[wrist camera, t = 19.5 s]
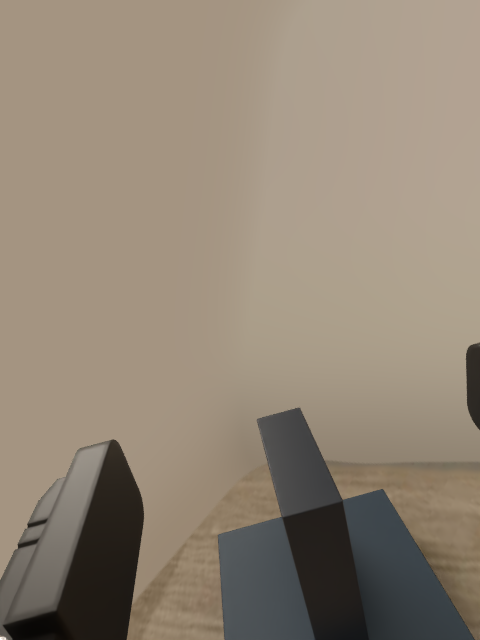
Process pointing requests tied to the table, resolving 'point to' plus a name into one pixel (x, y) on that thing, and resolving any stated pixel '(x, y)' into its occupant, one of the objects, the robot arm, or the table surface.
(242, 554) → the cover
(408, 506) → the table surface
